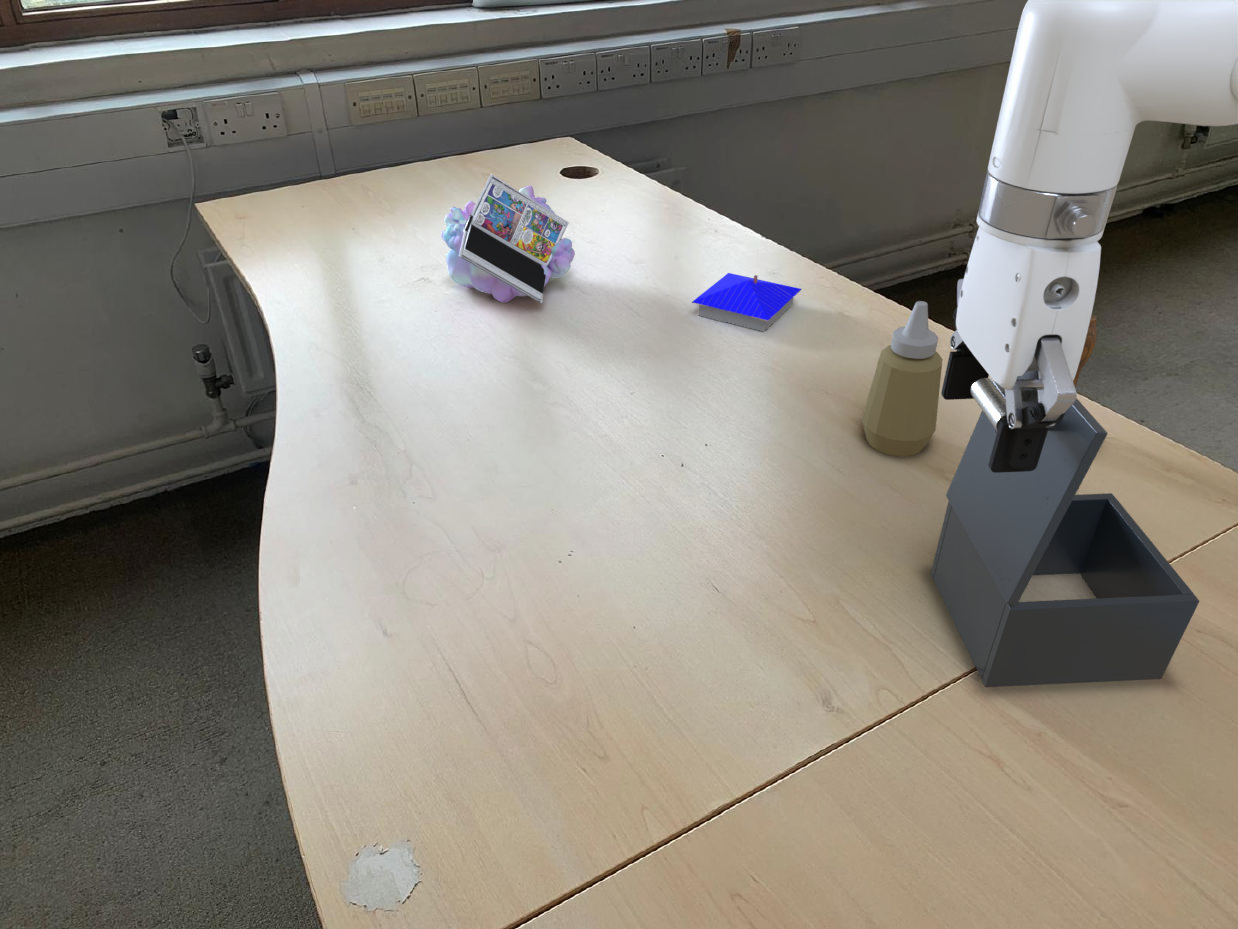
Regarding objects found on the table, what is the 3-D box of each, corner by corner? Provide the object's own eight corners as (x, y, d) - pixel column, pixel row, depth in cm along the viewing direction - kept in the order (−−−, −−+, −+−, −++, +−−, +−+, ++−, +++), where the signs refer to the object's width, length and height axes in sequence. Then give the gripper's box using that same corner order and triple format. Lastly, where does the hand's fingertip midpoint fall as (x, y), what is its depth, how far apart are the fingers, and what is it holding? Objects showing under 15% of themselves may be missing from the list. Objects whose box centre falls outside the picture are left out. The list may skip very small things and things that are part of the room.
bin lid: (1023, 337, 70) (962, 330, 69) (1108, 433, 59) (1037, 426, 58) (954, 496, 79) (899, 491, 78) (1016, 605, 68) (954, 601, 67)
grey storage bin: (1081, 575, 85) (1112, 493, 79) (1157, 687, 74) (1200, 601, 68) (928, 582, 85) (948, 499, 79) (982, 696, 73) (1010, 609, 68)
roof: (766, 335, 126) (770, 300, 123) (691, 316, 131) (692, 282, 128) (800, 303, 134) (803, 269, 131) (727, 286, 139) (729, 253, 136)
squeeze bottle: (920, 476, 98) (952, 327, 88) (848, 456, 102) (871, 310, 91) (938, 440, 104) (970, 296, 94) (869, 422, 107) (893, 281, 97)
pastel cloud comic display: (516, 217, 153) (464, 137, 138) (617, 238, 141) (573, 154, 127) (452, 311, 147) (391, 239, 133) (553, 341, 136) (498, 265, 121)
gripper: (1178, 255, 50) (1090, 500, 60) (1043, 160, 64) (990, 372, 74) (1044, 260, 49) (978, 505, 59) (939, 164, 64) (899, 375, 73)
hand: (985, 431), depth 67 cm, fingers open, 9 cm apart
